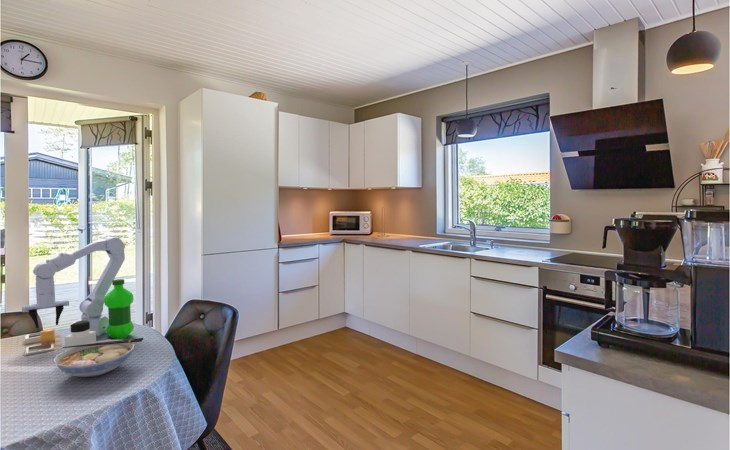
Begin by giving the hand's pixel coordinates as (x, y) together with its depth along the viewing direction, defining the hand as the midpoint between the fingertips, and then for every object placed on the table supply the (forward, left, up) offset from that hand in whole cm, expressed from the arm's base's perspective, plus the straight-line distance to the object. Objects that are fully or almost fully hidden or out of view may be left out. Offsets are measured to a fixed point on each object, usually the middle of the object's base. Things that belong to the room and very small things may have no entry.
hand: (47, 326), depth 153 cm
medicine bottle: (-17, +4, -9) cm, 20 cm away
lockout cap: (0, 0, -7) cm, 7 cm away
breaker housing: (+8, -2, -7) cm, 11 cm away
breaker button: (+8, -2, -7) cm, 11 cm away
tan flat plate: (+1, +1, -8) cm, 9 cm away
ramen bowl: (-37, +20, -9) cm, 43 cm away
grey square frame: (-3, +7, -7) cm, 10 cm away
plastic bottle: (-21, -12, -9) cm, 26 cm away
